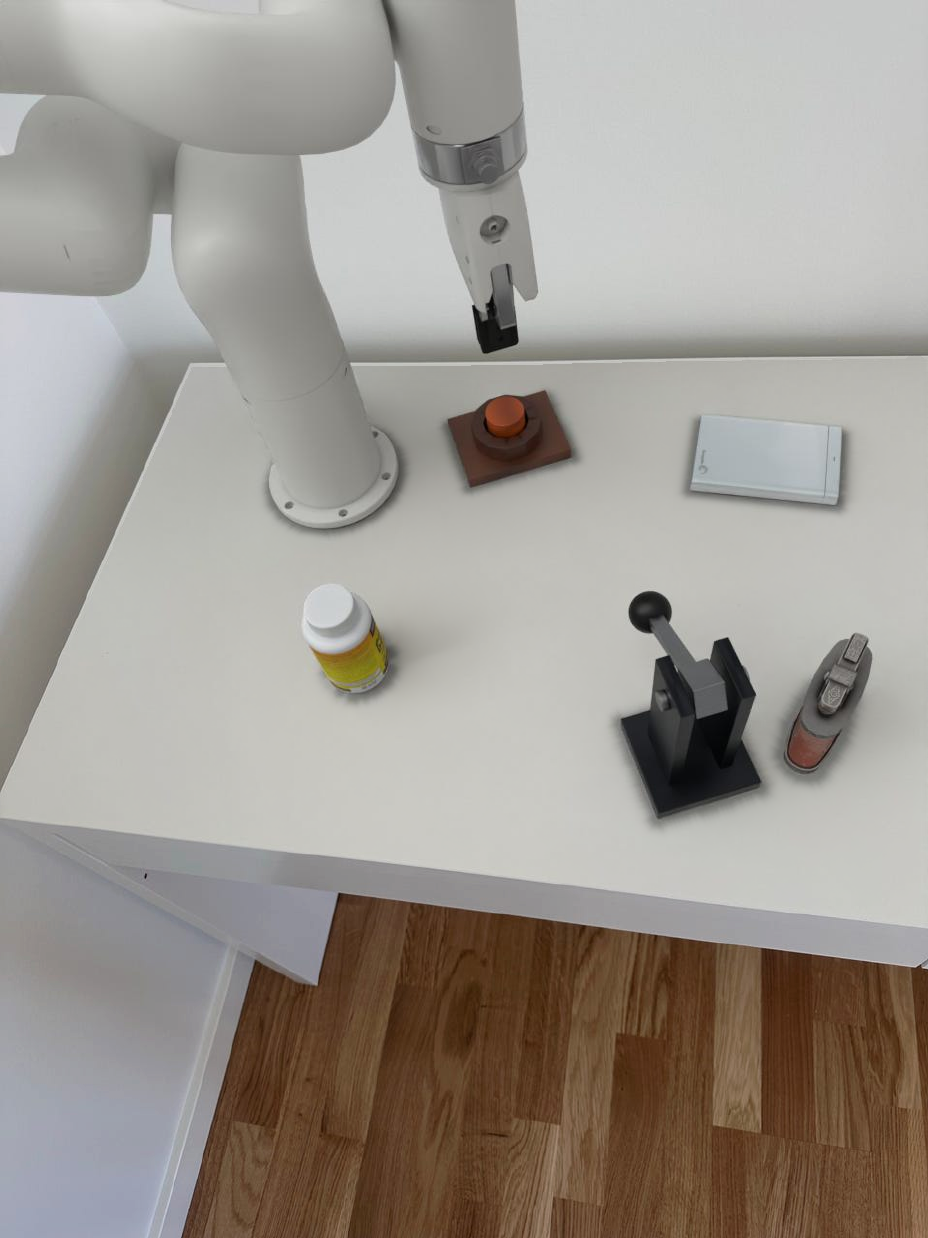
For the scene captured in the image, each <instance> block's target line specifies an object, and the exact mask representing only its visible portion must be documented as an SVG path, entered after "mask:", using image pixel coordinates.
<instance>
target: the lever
mask: <svg viewBox="0 0 928 1238" xmlns="http://www.w3.org/2000/svg"><path fill="white" fill-rule="evenodd" d="M627 613H628V619H629V622H630V624H631V625H632V626H633V627H634V629H636V630H637V631H639V632H641V633H643V634H648V635H651V634H653V635H654V637H655V638H656V640H657V642H658V643H659V644H660V646H661V648H662V649H663V651H664V652H665V654H666V656H667V655H670V657H671V659H672V661H673V663H674V666H675V668H676V670H677V672H678V675H679V677H680V679H681V681H682V684H683V686H684V688H685V690H686V693H687V695H688V697H689V699H690V702H691V704H692V706H693V708H694V711H695V718H696V719H699V718H703V717H706V716H709V715H712V714H716V713H719V712H722V711H725V710H728V703H727V694H726V684H725V681H724V679H723V678H722V677H721V675H720V674H719V672H718V671H717V670H716V668H715V667H714V666H713V664H712V663H711V662H710V658H708V657H707V658H704V659H701V660H696V659H695V658H694V656H693V655H692V654H691V652H690V651H689V649H688V648H687V646H686V645H685V644H684V642H683V641H682V640H681V638H680V637H679V635H678V634H677V632H676V631H675V629H674V628H673V627H672V625H671V624H670V622H671V620H672V617H673V616H672V615H673V608H672V605H671V603H670V601H669V599H668V598H667V596H665V595H664V594H662V593H661V592H658V591H654V590H645V591H642V592H639V594H637V595H635V596H634V598H633V599H632V600H631V601H630V603H629V606H628V611H627Z"/></svg>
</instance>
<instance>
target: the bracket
mask: <svg viewBox="0 0 928 1238" xmlns="http://www.w3.org/2000/svg"><path fill="white" fill-rule="evenodd" d="M709 657H710V658H709V660H710V662H711V663H712V664H713V666H714V667H715V668H716V670H717V671H718V672H719V674H720V675H721V677H722V678H723V679H724V681H725V684H726V694H727V703H728V710H725V711H722V712H719V713H716V714H712V715H709V716H706V717H703V718H699V719H696V718H695V711H694V708H693V706H692V704H691V702H690V699H689V697H688V695H687V693H686V690H685V688H684V686H683V684H682V681H681V679H680V677H679V675H678V672H677V668H676V667H675V665H674V663H673V661H672V659H671V657H670V655H667V654H666V655H664V656H661V657H658V658H655V661H654V669H653V670H654V671H653V678H652V679H653V680H652V687H651V697H650V707H649V710H645V711H641V712H638V713H636V714H632V715H628V716H625V717H622V718H620V727H621V730H622V733H623V735H624V739H625V741H626V743H627V745H628V748H629V751H630V753H631V756H632V759H633V762H634V763H635V766H636V769H637V771H638V773H639V774H638V775H639V776H640V779H641V782H642V783H643V787H644V789H645V791H646V793H647V794H646V795H647V796H648V799H649V802H650V805H651V808H652V809H653V812H654V814H655V816H656V819H657V820H658V819H663V818H665V817H668V816H673V815H675V814H678V813H681V812H685V811H688V810H692V809H695V808H697V807H701V806H705V805H707V804H711V803H714V802H717V801H721V800H723V799H728V798H730V797H733V796H737V795H740V794H743V793H747V792H750V791H752V790H757V789H759V788H760V787H761V784H762V780H761V777H760V776H759V774H758V771H757V769H756V767H755V765H754V763H753V761H752V759H751V756H750V754H749V751H748V750H747V748H746V745H745V744H744V742H743V739H742V738H743V736H744V733H745V730H746V726H747V722H748V720H749V717H750V714H751V711H752V709H753V705H754V702H755V700H756V696H757V693H756V690H755V689H754V686H753V684H752V683H751V677H750V674H749V671H748V670H747V667H745V665H743V664H742V662H741V660H740V658H739V656H738V655H737V652H736V650H735V648H734V646H733V644H732V642H731V640H730V637H728V636H726V637H723V638H719V639H716V640H714V641H713V644H712V649H711V653H710V656H709Z"/></svg>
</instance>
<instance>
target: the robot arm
mask: <svg viewBox="0 0 928 1238" xmlns="http://www.w3.org/2000/svg"><path fill="white" fill-rule="evenodd" d="M516 6H517V5H516V0H258V13H242V12H241V13H239V12H238V13H237V12H226V11H224V12H223V11H216V10H206V9H201V8H196V7H191V6H186V5H183V4H179V3H176V2H173V1H169V0H0V94H3V95H4V94H6V95H7V94H8V95H13V94H14V95H30V96H31V95H34V96H35V95H36V96H43V97H41V98H40V99H38V100H37V101H36V102H35V103H34V104H33V105H32V106H31V107H30V108H29V110H27V113H26V114H25V115H24V117H23V120H22V122H21V124H20V125H19V128H18V133H17V136H16V141H15V145H14V150H13V152H12V153H9V154H3V155H2V154H1V155H0V293H11V294H29V295H30V294H31V295H33V294H34V295H52V296H70V297H111V296H117V295H120V294H123V293H126V292H127V291H129V290H131V289H132V288H134V287H135V286H136V285H137V284H138V283H139V282H140V280H141V279H142V277H143V275H144V274H145V272H146V269H147V266H148V263H149V262H148V261H149V258H150V254H151V246H152V238H153V224H154V215H169V216H171V218H170V219H171V220H170V221H171V222H170V248H171V258H172V265H173V270H174V271H173V272H174V274H175V278H176V282H177V285H178V287H179V289H180V292H181V294H182V296H183V298H184V300H185V301H186V304H187V305H188V306H189V308H190V309H191V311H192V312H193V314H194V316H196V318H197V319H198V320H199V322H200V323H201V324H202V326H203V327H204V328H205V330H206V331H207V334H209V336H210V338H211V340H212V341H213V343H214V345H215V346H216V349H217V350H218V352H219V354H220V356H221V357H222V360H223V361H224V364H225V365H226V368H227V370H228V372H229V373H230V375H231V378H232V380H233V382H234V384H235V385H236V388H237V390H238V392H239V393H240V395H241V398H242V400H243V402H244V404H245V406H246V408H247V410H248V412H249V414H250V416H251V419H252V420H253V423H254V424H255V426H256V430H257V431H258V434H259V435H260V437H261V439H262V441H263V443H264V445H265V448H266V449H267V452H268V454H269V456H270V458H271V460H272V464H271V466H270V469H269V476H268V488H269V491H270V495H271V497H272V500H273V502H274V503H275V506H276V507H277V509H278V510H279V511H280V512H281V513H282V514H283V515H284V516H285V517H286V518H288V519H289V520H290V521H292V522H294V523H296V524H298V525H300V526H303V527H307V528H311V529H312V528H313V529H324V530H326V529H335V528H341V527H344V526H345V527H346V526H349V525H352V524H354V523H356V522H359V521H361V520H364V519H365V518H366V517H368V516H370V515H371V514H374V512H376V511H377V510H378V509H379V508H380V507H381V506H382V505H383V504H384V503H385V502H386V501H387V499H388V498H389V497H390V496H391V494H392V492H393V491H394V488H395V486H396V483H397V481H398V477H399V467H400V465H399V460H398V455H397V451H396V450H395V446H394V445H393V443H392V441H391V440H390V438H389V437H388V436H387V435H386V434H385V433H384V431H382V430H381V429H378V428H377V427H375V426H374V425H372V424H371V423H370V420H369V418H368V414H367V411H366V408H365V405H364V402H363V398H362V396H361V392H360V389H359V386H358V383H357V380H356V378H355V373H354V370H353V368H352V365H351V361H350V358H349V355H348V352H347V350H346V346H345V343H344V340H343V337H342V335H341V331H340V329H339V326H338V323H337V319H336V317H335V314H334V312H333V309H332V306H331V304H330V301H329V299H328V297H327V294H326V292H325V290H324V288H323V285H322V282H321V281H320V277H319V275H318V271H317V269H316V264H315V261H314V256H313V250H312V247H311V240H310V233H309V223H308V211H307V209H308V208H307V203H306V195H305V181H304V180H305V179H304V172H303V164H302V158H301V156H307V155H309V156H310V155H311V156H312V155H313V156H314V155H325V154H329V153H335V152H339V151H343V150H344V151H345V150H346V149H350V148H352V147H355V146H358V145H359V144H360V143H362V142H364V141H365V140H367V139H369V138H370V137H371V136H373V134H374V133H376V131H377V130H378V129H380V127H381V126H382V125H383V123H384V122H385V120H386V118H387V117H388V115H389V112H390V110H391V108H392V105H393V102H394V98H395V93H396V92H395V91H396V85H397V78H396V77H397V75H396V64H397V65H398V68H399V73H400V78H401V83H402V90H403V94H404V100H405V105H406V109H407V115H408V120H409V125H410V130H411V135H412V140H413V145H414V150H415V156H416V160H417V165H418V170H419V173H420V175H421V177H422V178H423V179H424V180H425V181H426V182H427V183H429V184H430V185H431V186H433V187H435V188H437V189H438V195H439V200H440V206H441V210H442V215H443V219H444V224H445V229H446V232H447V236H448V239H449V243H450V246H451V249H452V252H453V255H454V258H455V260H456V263H457V265H458V268H459V271H460V274H461V275H462V278H463V280H464V283H465V285H466V288H467V291H468V293H469V296H470V297H471V300H472V302H473V304H471V309H472V315H473V321H474V322H473V323H474V328H475V329H474V330H475V334H476V340H477V342H478V344H479V346H480V350H481V353H482V354H484V355H488V354H491V353H495V352H498V351H501V350H504V349H509V348H512V347H514V346H517V345H518V344H519V342H520V339H519V329H518V322H517V312H516V306H515V305H516V304H515V292H514V291H515V290H514V288H515V289H516V291H517V292H518V294H519V296H521V298H522V299H523V301H524V302H528V301H531V300H532V301H533V300H535V299H536V298H537V296H538V294H539V287H538V280H537V279H538V277H537V272H536V271H537V269H536V265H535V256H534V249H533V242H532V234H531V226H530V221H529V214H528V209H527V203H526V202H527V201H526V198H525V192H524V188H523V184H522V183H523V182H522V179H521V175H520V169H521V168H522V167H523V165H524V164H525V162H526V160H527V157H528V142H527V140H528V139H527V129H526V128H527V127H526V116H525V114H526V113H525V103H524V92H523V80H522V67H521V66H522V65H521V57H520V55H521V54H520V44H519V43H520V41H519V33H518V31H519V30H518V18H517V8H516Z"/></svg>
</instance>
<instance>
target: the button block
mask: <svg viewBox="0 0 928 1238" xmlns="http://www.w3.org/2000/svg"><path fill="white" fill-rule="evenodd" d="M500 397H513V398H516V399H518V400H519V401H520V402H521V403H522V404H523V406H524V412H525V426H524V428H523V430H522V431H521V432H520V433H519V434H517V435H516V436H513V437H510V438H499V437H496V436H494V435H493V434H491V432H490V431H489V430H488V427H487V421H486V415H485V411H486V408H487V406H488V405H489V404H490V403H491V402H492V401H493V400H495V399H497V398H500ZM446 421H447V425H448V426H447V427H448V430H449V432H450V436H451V438H452V440H453V443H454V447H455V449H456V453H457V455H458V458H459V460H460V463H461V466H462V470H463V472H464V475H465V478H466V481H467V483H468V486H469V488H473V487H478V486H480V485H483V484H488V483H491V482H493V481H497V480H500V479H501V480H502V479H504V478H507V477H510V476H514V475H517V474H521V473H524V472H528V471H531V470H534V469H537V468H541V467H544V466H547V465H550V464H551V465H552V464H554V463H557V462H561V461H565V460H568V459H570V458H572V448H571V446H570V443H569V441H568V439H567V436H566V435H565V432H564V429H563V427H562V425H561V422H560V421H559V418H558V416H557V414H556V411H555V409H554V407H553V405H552V403H551V400H550V398H549V396H548V393H547V391H546V389H544V390H541V391H537V392H534V393H530V394H527V395H524V396H522V395H515V394H502V395H499V396H495V397H493V398H488V399H487V400H485V401H484V402H483V403H482V404H481V405H480V406H479V407H477V408H476V409H475V410H473V411H470V412H466V413H463V414H460V415H459V414H458V415H456V416H453V417H449V418H446Z"/></svg>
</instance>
